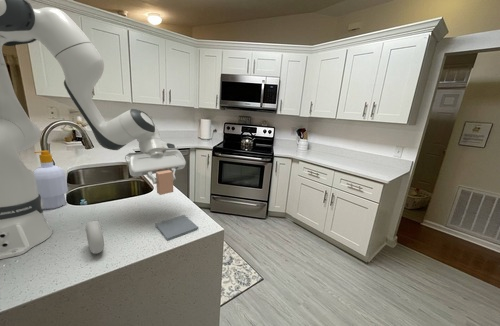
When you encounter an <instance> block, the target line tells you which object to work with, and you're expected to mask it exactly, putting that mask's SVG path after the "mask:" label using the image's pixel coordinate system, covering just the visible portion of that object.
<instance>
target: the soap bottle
mask: <svg viewBox="0 0 500 326" xmlns="http://www.w3.org/2000/svg"><path fill="white" fill-rule="evenodd" d="M33 154H39V161H40V167H37V168H36V169H34V170H32V171H33V173H34V174H35V180H36V185H37V190H38V194H40V196H41V198H42V203H43V209H46V210H49V209H58V208H60V207H63V206H64V205H65V204H66V203H67V202H66V196H65V194H67V193H68V191H69V188H68V183H67V176H66V172H65V170H64V169H63V168H62V167H60V166H57V165H54V161H53V156H52V154H51V153H50V151H49V150H48V149H47V150H41V151H40V150H39V151H38V150H37V151H33ZM62 205H63V206H62Z"/></svg>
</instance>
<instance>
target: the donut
mask: <svg viewBox="0 0 500 326" xmlns="http://www.w3.org/2000/svg"><path fill="white" fill-rule="evenodd" d="M85 234H86V239H87V244H88V248H89V251H90V252H91V253H92V254H94V255H96V254H100V253H101V252H102V251H103V250H104V248H105V239H104V234H103V231H102V227H101V225H100V222H99V221H97V220H91V221H89V222H88V223H86V225H85Z"/></svg>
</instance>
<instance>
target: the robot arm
mask: <svg viewBox="0 0 500 326" xmlns="http://www.w3.org/2000/svg"><path fill="white" fill-rule="evenodd" d="M37 41H38V42H39V43H41V44H42V45H43V46H44V47H45V48H46V49H47V51H49V52H50V54H51V55H52V56H53V58H55V60H57V63H59V65H60V67H61V68H62V71H63V75H64V81H63V86H64V88H65V90H66V92H67V94H68V95H69V97H70V99H71V100H72V102H73V103H74V105H75V106H76V108H77V110H78V111H79V112H80V114H81V115H82V117H83V119H84V121H86V123H87V124H88V126H89V127H90V130H91V131H92V133H93V135H94V138H95V139H96V141H97V143H98V144H99V146H101V147H102V148H104V149H107V150H109V151H119V150H121V149H122V148H123V147H125V146H126V145H128V144H130V143H131V142H133V141H135V140H136V141H137V143H138V148H139V151H137V152H128V153H127V154H126V155H124V159H125V162H126V163H127V164H128V171H129V175H130V176H131V177H134V178H136V177H142V176H146V177H147V178H148V179H149V180H150V181H152V184H153V185H154V184H155V185H156V184H157V183H158V180H157V177H156V176H154V175H156V172H159V171H166V170H170V171H172V172H173V181H176V175H175V174H176V171H177V170H178V171H179V170H183V169H184V168H185V167H186V165H187V161H186V159H185V157H184V155H183V154H182V152H181V151H180V150H179V149H178V145H177V144H176V143H171V142H167V141H163V140H162V138H161V137H160V131H159V128H158V126H157V124H156V123H155V121H154V119H153V118H152V117H151V116H150V115H148V113H146V112H145V111H142V110H141V109H140V110H139V109H136V108H131V109H129V110H126V111H125V112H123V113H120V114H119V115H118V116H115V117H114V118H112V119H110V120H108V121H106V120H105V118H104V117H103V115H102V114H101V111H100V110H99V109H98V108H97V105H96V104H95V102H94V100H93V96H92V95H93V94H92V93H93V90H94V88H95V87H96V85H97V84H98V82H99V81H100V79H101V78H102V76H103V74H104V68H105V64H104V60H103V57H102V55H101V54H100V52H99V51H98V50H97V48H96V46H95V45H94V44H93V42H92V41H91V39H90V38H89V37H88V36H87V35H86V33H84V31H83V30H82V29H81V28H80V27H79V25H78V24H76V22H75V21H74V20H73V19H72V18H71V17H70V16H69V15H68V14H67V13H66V12H64V11H63V10H62V9H59V8H56V7H51V6H50V7H49V6H48V7H41V8H34V7H32V5H31V3H30V1H27V0H0V260H2V259H7V258H12V257H16V256H17V257H18V256H21V255H23V254H25V253H27V252H28V251H29V250H31V249H32V248H33V247H36V246H38V245H40V244H41V243H43V242H44V241H45V242H46V240H48V239H49V238H50V237H51V236H52V234H53V230H52V228H51V226H50V225H49V223H48V221H47V219H46V217H45V215H44V208H43V203H42V198H41V196H40V194H38V190H37V185H36V180H35V174H34V173H33V171H34V170H32V169H30V168H28V167H27V166H26V164H24V161H23V160H22V158H21V155H20V152H25V151H27V150H29V149H31V148H32V147H34V146H35V145H36V144H38V142H39V141H40V140H41V137H42V131H41V129H40V128H39V126H38V125H37V124H36V123H35V122H34V121H32V120H31V119H30V118H29V116H28V114H27V113H26V111H25V110H24V108H23V106H22V104H21V102H20V100H18V97H17V95H16V92H15V89H14V86H13V84H12V83H13V82H12V80H11V77H10V73H9V71H8V67H7V64H6V61H5V58H4V54H3V46H7V47H13V46H18V45H27V44H32V43H34V42H37ZM153 174H154V175H153Z"/></svg>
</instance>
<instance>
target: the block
mask: <svg viewBox="0 0 500 326" xmlns="http://www.w3.org/2000/svg"><path fill="white" fill-rule="evenodd" d="M156 177H157V180H158V183H157V184H155V185H156V193H157V194H158V195H159V196H162V195H166V194H171V193H174V180H173V172H172V171H170V170H166V171H159V172H156V173H155V178H156Z"/></svg>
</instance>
